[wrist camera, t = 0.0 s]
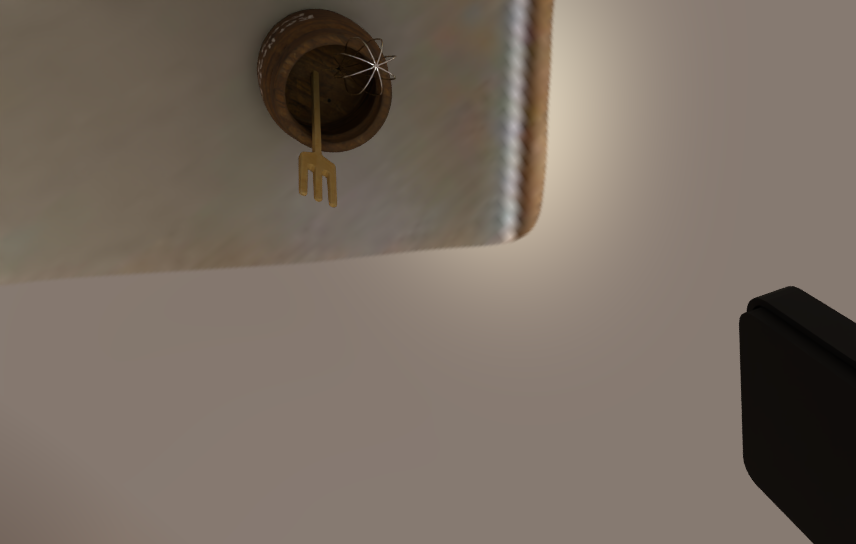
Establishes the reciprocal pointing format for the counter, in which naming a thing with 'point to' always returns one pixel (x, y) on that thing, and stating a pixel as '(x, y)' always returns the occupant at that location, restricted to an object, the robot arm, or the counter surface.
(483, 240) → the counter surface
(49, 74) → the counter surface
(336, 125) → the utensil holder
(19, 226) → the counter surface
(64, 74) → the counter surface
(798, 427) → the robot arm
